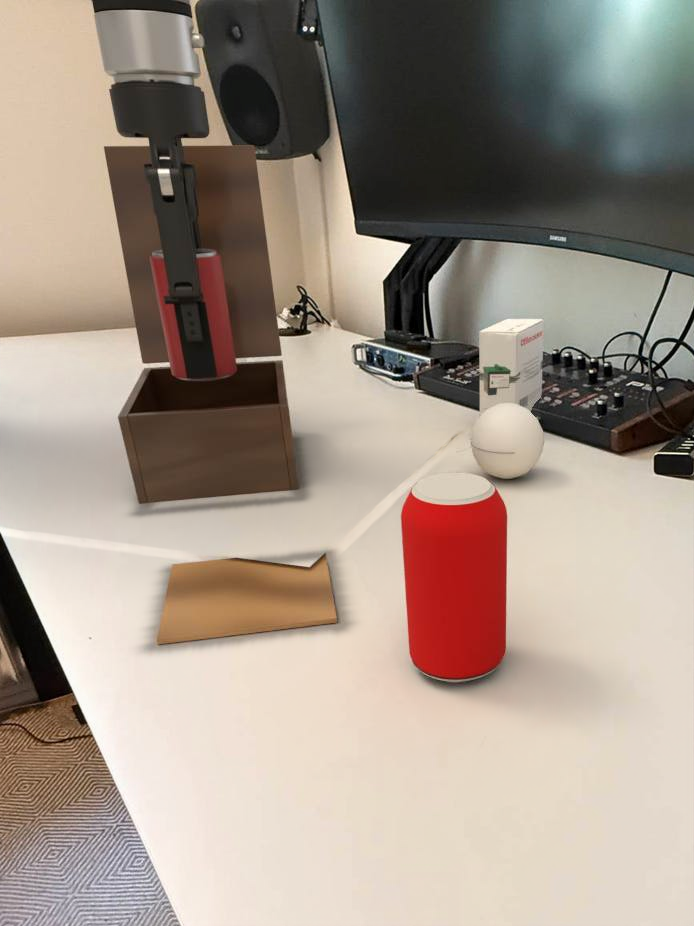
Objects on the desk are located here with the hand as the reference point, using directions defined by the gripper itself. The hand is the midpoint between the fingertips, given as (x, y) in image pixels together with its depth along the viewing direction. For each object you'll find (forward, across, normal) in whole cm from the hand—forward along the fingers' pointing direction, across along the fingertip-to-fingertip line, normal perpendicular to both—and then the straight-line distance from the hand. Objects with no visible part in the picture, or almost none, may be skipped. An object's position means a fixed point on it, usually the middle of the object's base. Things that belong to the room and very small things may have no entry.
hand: (204, 367), depth 78 cm
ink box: (+10, +7, -34) cm, 36 cm away
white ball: (+10, -10, -27) cm, 31 cm away
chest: (+10, 0, 0) cm, 10 cm away
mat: (+10, -30, -3) cm, 31 cm away
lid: (-9, +12, 0) cm, 15 cm away
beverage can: (+10, -43, -16) cm, 47 cm away
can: (+1, 0, 0) cm, 1 cm away
